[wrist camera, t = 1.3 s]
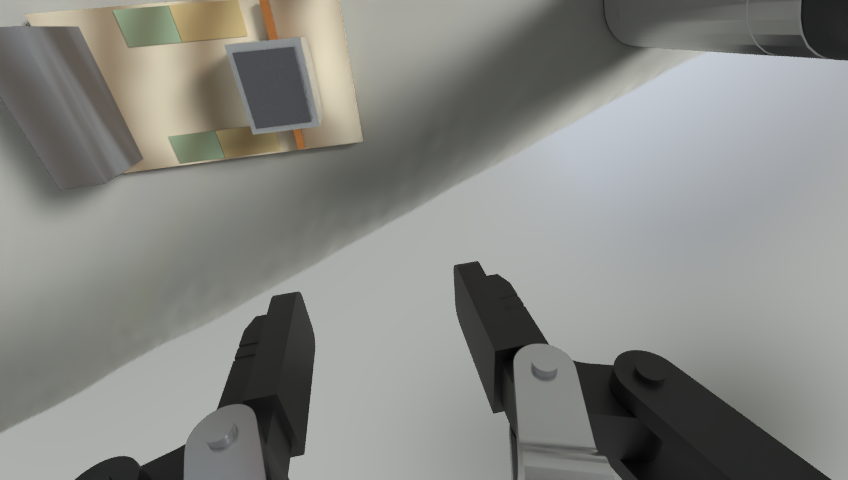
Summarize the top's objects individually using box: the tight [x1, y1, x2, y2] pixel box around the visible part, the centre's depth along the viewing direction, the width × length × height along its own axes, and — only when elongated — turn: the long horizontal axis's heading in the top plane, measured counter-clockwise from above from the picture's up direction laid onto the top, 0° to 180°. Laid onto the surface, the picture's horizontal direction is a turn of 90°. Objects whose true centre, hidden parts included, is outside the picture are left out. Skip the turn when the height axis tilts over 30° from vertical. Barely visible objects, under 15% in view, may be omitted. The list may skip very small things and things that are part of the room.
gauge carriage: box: [224, 0, 324, 149], centre depth 28 cm, size 5×11×6 cm, turn 5°
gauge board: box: [0, 0, 363, 190], centre depth 28 cm, size 22×12×7 cm, turn 95°
